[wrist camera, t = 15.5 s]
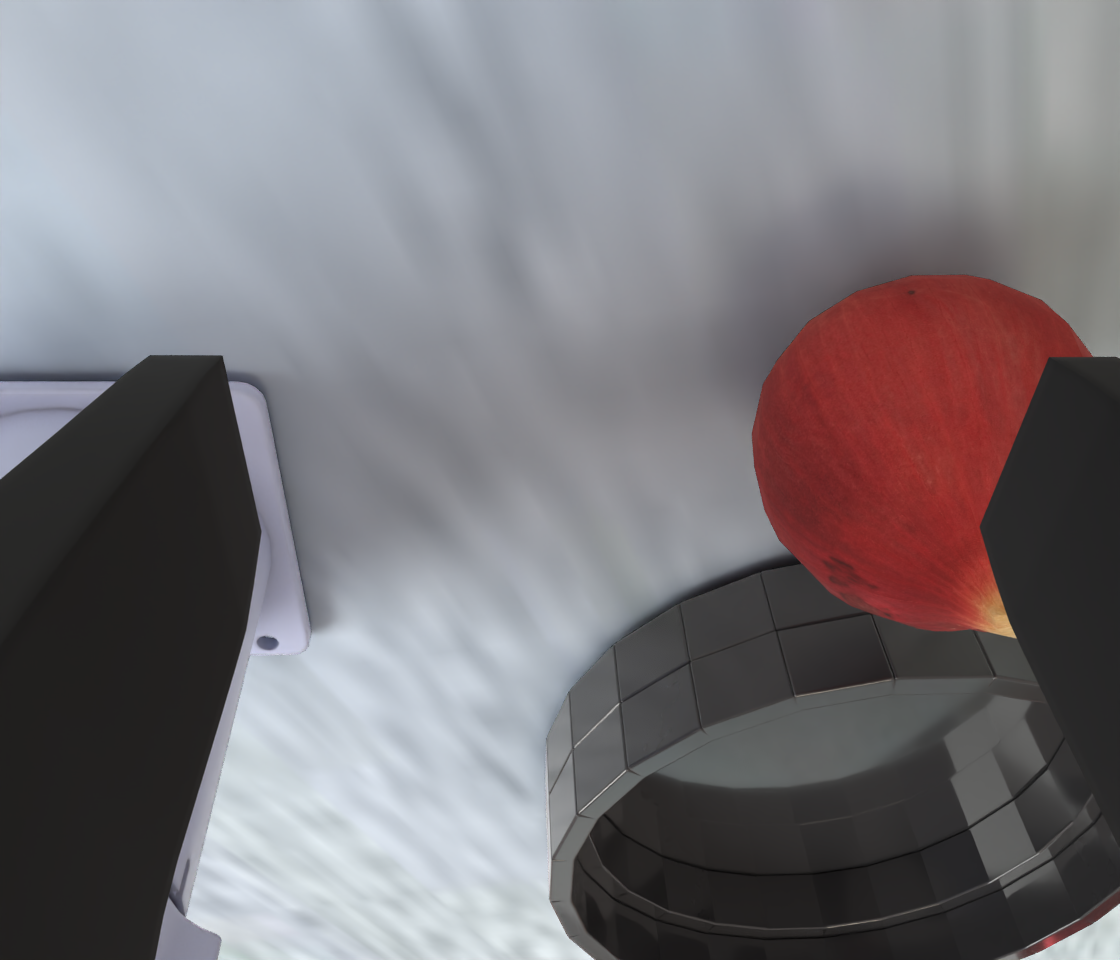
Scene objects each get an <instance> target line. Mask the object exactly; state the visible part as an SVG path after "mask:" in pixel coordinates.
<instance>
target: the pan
mask: <svg viewBox="0 0 1120 960" xmlns="http://www.w3.org/2000/svg"><path fill="white" fill-rule="evenodd" d="M545 798H546V826H547V854H548V882H549V900H550V902H551V904H552V906H553V908H554V910H555V912H556V914H557V916H558V918H559V920H560V922H561V924H562V926H563V928H564V930H565V932H566V934H567V936H568V937H569V938H570V939H571V940H572V941H573V942H574V943H576V944H577V945H578V946H579V947H580V948H582V949H583V950H584V951H585V952H586V953H588V954H589V955H590V956H591V957H592V958H594V959H595V960H1020V959H1022V958H1025V957H1028V956H1030V955H1033V954H1035V953H1038V952H1040V951H1042V950H1044V949H1046V948H1048V947H1050V946H1051V945H1053V944H1055V943H1057V942H1059V941H1061V940H1063V939H1065V938H1067V937H1068V936H1070V935H1072V934H1074V933H1076V932H1078V931H1080V930H1082V929H1084V928H1086V927H1087V926H1089V925H1091V924H1093V923H1094V922H1096V921H1098V920H1099V919H1100V918H1101V917H1103V916H1104V915H1105V914H1107V913H1108V912H1109V911H1111V910H1112V909H1113V908H1115V907H1116V906H1117V905H1118V904H1120V850H1119V847H1118V845H1117V843H1116V840H1115V838H1114V836H1113V834H1112V832H1111V830H1110V828H1109V826H1108V824H1107V822H1106V820H1105V818H1104V816H1103V814H1102V812H1101V810H1100V808H1099V806H1098V804H1097V802H1096V800H1095V798H1094V796H1093V794H1092V792H1091V790H1090V788H1089V786H1088V784H1087V782H1086V780H1085V778H1084V776H1083V773H1082V771H1081V769H1080V767H1079V765H1078V763H1077V761H1076V759H1075V757H1074V755H1073V753H1072V751H1071V749H1070V747H1069V745H1068V743H1067V741H1066V739H1065V737H1064V735H1063V733H1062V731H1061V729H1060V727H1059V725H1058V723H1057V721H1056V719H1055V717H1054V715H1053V713H1052V711H1051V709H1050V707H1049V705H1048V703H1047V701H1046V699H1045V696H1044V694H1043V692H1042V690H1041V688H1040V686H1039V684H1038V682H1037V680H1036V678H1035V676H1034V674H1033V672H1032V669H1031V667H1030V665H1029V663H1028V661H1027V659H1026V657H1025V655H1024V653H1023V651H1022V649H1021V647H1020V644H1019V642H1018V640H1017V638H1012V637H1008V636H1003V635H999V634H994V633H990V632H981V631H976V630H971V629H968V630H959V631H931V630H924V629H918V628H915V627H911V626H908V625H905V624H902V623H899V622H896V621H893V620H890V619H887V618H883V617H880V616H877V615H874V614H871V613H869V612H866V611H863V610H860V609H858V608H855V607H852V606H850V605H849V604H847V603H846V602H844V601H842V600H841V599H839V598H837V597H836V596H834V595H833V594H831V593H830V592H829V591H828V590H827V589H826V588H825V587H824V586H823V585H822V584H821V583H820V582H819V581H818V580H817V579H816V578H815V577H814V576H813V574H812V573H811V572H810V571H809V570H808V569H807V568H806V567H805V566H804V565H803V564H797V565H792V566H786V567H781V568H776V569H771V570H766V571H762V572H761V574H760V573H756V574H753V575H751V576H748V577H745V578H743V579H740V580H738V581H735V582H732V583H730V584H727V585H725V586H722V587H719V588H717V589H714V590H712V591H709V592H706V593H704V594H701V595H699V596H696V597H693V598H691V599H688V600H686V601H683V602H681V603H680V604H677V605H675V606H674V607H672V608H670V609H669V610H667V611H666V612H664V613H662V614H661V615H659V616H658V617H656V618H654V619H653V620H651V621H650V622H648V623H647V624H645V625H643V626H642V627H640V628H639V629H637V630H635V631H634V632H632V633H631V634H629V635H628V636H626V637H624V638H623V639H621V640H620V641H618V642H616V643H615V645H612V647H611V648H610V649H609V650H608V651H607V652H606V653H605V654H604V655H603V656H602V657H601V658H600V659H599V660H598V661H597V662H596V663H595V664H594V665H593V666H592V667H591V668H590V669H589V670H588V671H587V672H586V673H585V675H584V676H583V677H582V678H581V679H580V680H579V681H578V682H577V683H576V684H575V685H574V686H573V687H572V688H571V689H570V691H569V692H568V694H567V696H566V698H565V700H564V703H563V705H562V707H561V709H560V711H559V713H558V715H557V717H556V719H555V721H554V723H553V725H552V727H551V730H550V732H549V734H548V736H547V738H546V763H545Z"/></svg>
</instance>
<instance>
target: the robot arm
mask: <svg viewBox="0 0 1120 960" xmlns="http://www.w3.org/2000/svg"><path fill="white" fill-rule="evenodd" d="M979 527H980V531H981V534H982V537H983V541H984V544H985V548H986V551H987V555H988V558H989V561H990V565H991V568H992V572H993V575H994V579H995V582H996V584H997V587H998V590H999V593H1000V596H1001V599H1002V602H1003V605H1004V608H1005V611H1006V614H1007V617H1008V620H1009V623H1010V625H1011V627H1012V629H1013V631H1014V633H1015V636H1016V638H1017V640H1018V642H1019V644H1020V647H1021V649H1022V651H1023V653H1024V655H1025V657H1026V659H1027V661H1028V663H1029V665H1030V667H1031V669H1032V672H1033V674H1034V676H1035V678H1036V680H1037V682H1038V684H1039V686H1040V688H1041V690H1042V692H1043V694H1044V696H1045V699H1046V701H1047V703H1048V705H1049V707H1050V709H1051V711H1052V713H1053V715H1054V717H1055V719H1056V721H1057V723H1058V725H1059V727H1060V729H1061V731H1062V733H1063V735H1064V737H1065V739H1066V741H1067V743H1068V745H1069V747H1070V749H1071V751H1072V753H1073V755H1074V757H1075V759H1076V761H1077V763H1078V765H1079V767H1080V769H1081V771H1082V773H1083V776H1084V778H1085V780H1086V782H1087V784H1088V786H1089V788H1090V790H1091V792H1092V794H1093V796H1094V798H1095V800H1096V802H1097V804H1098V806H1099V808H1100V810H1101V812H1102V814H1103V816H1104V818H1105V820H1106V822H1107V824H1108V826H1109V828H1110V830H1111V832H1112V834H1113V836H1114V838H1115V840H1116V843H1117V845H1118V847H1119V850H1120V359H1119V358H1117V357H1049V358H1048V360H1047V363H1046V365H1045V368H1044V370H1043V373H1042V375H1041V377H1040V380H1039V382H1038V385H1037V387H1036V390H1035V392H1034V395H1033V397H1032V399H1031V402H1030V404H1029V407H1028V409H1027V412H1026V414H1025V417H1024V419H1023V421H1022V424H1021V426H1020V429H1019V431H1018V434H1017V436H1016V438H1015V441H1014V443H1013V446H1012V448H1011V451H1010V453H1009V456H1008V458H1007V460H1006V463H1005V465H1004V468H1003V470H1002V473H1001V475H1000V478H999V480H998V482H997V485H996V487H995V490H994V492H993V495H992V497H991V500H990V502H989V504H988V507H987V509H986V512H985V514H984V517H983V519H982V521H981V524H980V526H979ZM266 636H270V637H273V638H270V637H266ZM310 638H311V628H310V622H309V617H308V612H307V607H306V602H305V597H304V592H303V587H302V582H301V576H300V571H299V566H298V561H297V556H296V551H295V546H294V541H293V536H292V530H291V525H290V520H289V515H288V510H287V505H286V500H285V495H284V490H283V485H282V479H281V474H280V469H279V464H278V459H277V454H276V449H275V444H274V439H273V433H272V428H271V423H270V418H269V413H268V408H267V403H266V400H265V398H264V396H263V394H262V393H261V392H260V391H259V390H258V389H257V388H256V387H254V386H252V385H250V384H248V383H243V382H237V381H228V378H227V374H226V369H225V365H224V360H223V356H203V355H150V356H148V357H147V358H146V359H144V360H143V361H142V362H140V363H139V364H138V365H136V366H135V367H134V368H132V369H131V370H130V371H129V372H127V373H126V374H125V375H124V376H122V377H121V378H120V379H119V380H118V381H0V960H218V955H219V950H220V946H221V941H222V940H221V938H220V936H219V935H217V934H215V933H213V932H210V931H208V930H206V929H203V928H201V927H199V926H198V925H196V924H194V923H193V922H191V921H189V920H188V919H187V918H186V915H187V911H188V907H189V902H190V898H191V894H192V890H193V886H194V882H195V878H196V874H197V870H198V866H199V862H200V857H201V853H202V849H203V845H204V841H205V837H206V833H207V829H208V825H209V821H210V817H211V812H212V808H213V804H214V800H215V796H216V792H217V788H218V784H219V780H220V776H221V771H222V767H223V763H224V759H225V755H226V751H227V747H228V743H229V739H230V735H231V731H232V726H233V722H234V718H235V714H236V710H237V706H238V702H239V698H240V694H241V690H242V685H243V681H244V677H245V673H246V669H247V665H248V661H249V657H250V655H293V654H299V653H301V652H303V651H305V650H306V649H307V648H308V647H309V643H310Z"/></svg>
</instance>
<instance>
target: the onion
mask: <svg viewBox="0 0 1120 960" xmlns="http://www.w3.org/2000/svg"><path fill="white" fill-rule="evenodd" d="M1049 357H1093V356H1092V355H1091V353H1090V352H1089V351H1088V349H1087V348H1086V347H1085V345H1084V344H1083V343H1082V341H1081V340H1080V339H1079V337H1078V336H1077V335H1076V333H1075V332H1074V331H1073V329H1072V328H1071V327H1070V325H1069V324H1068V323H1067V322H1066V321H1065V320H1063V319H1062V318H1061V317H1060V316H1059V315H1058V314H1057V313H1055V312H1054V311H1053V310H1052V309H1051V308H1050V307H1049V306H1048V305H1046V304H1045V303H1044V302H1043V301H1042V300H1040V299H1037V298H1035V297H1032V296H1030V295H1027V294H1025V293H1022V292H1020V291H1017V290H1015V289H1012V288H1010V287H1007V286H1005V285H1002V284H1000V283H998V282H995V281H993V280H989V279H984V278H979V277H974V276H969V275H911V276H908V277H905V278H901V279H898V280H894V281H891V282H887V283H884V284H880V285H877V286H874V287H870V288H867V289H863V290H860V291H856V292H855V293H853V294H852V295H850V296H848V297H847V298H845V299H844V300H842V301H840V302H839V303H837V304H836V305H834V306H832V307H831V308H829V309H827V310H826V311H824V312H823V313H821V314H819V315H818V316H816V317H815V318H813V319H811V320H810V321H809V322H808V323H807V324H806V325H805V326H804V328H803V329H802V330H801V331H800V333H799V334H798V335H797V336H796V338H795V339H794V340H793V341H792V343H791V344H790V345H789V346H788V348H787V349H786V350H785V351H784V352H783V354H782V355H781V356H780V357H779V359H778V360H777V361H776V363H775V365H774V366H773V368H772V370H771V372H770V373H769V375H768V377H767V378H766V380H765V382H764V383H763V386H762V391H761V395H760V399H759V404H758V408H757V413H756V417H755V421H754V426H753V430H752V443H753V455H754V467H755V471H756V476H757V480H758V484H759V488H760V493H761V497H762V501H763V506H764V510H765V512H766V514H767V516H768V518H769V521H770V523H771V525H772V527H773V529H774V531H775V533H776V535H777V537H778V539H779V541H780V542H781V543H782V544H783V545H784V546H785V547H786V548H787V549H788V550H789V551H790V552H791V553H792V554H793V555H794V556H795V557H796V558H797V559H798V560H799V561H800V562H801V563H802V564H803V565H804V566H805V567H806V568H807V569H808V570H809V571H810V572H811V573H812V574H813V576H814V577H815V578H816V579H817V580H818V581H819V582H820V583H821V584H822V585H823V586H824V587H825V588H826V589H827V590H828V591H829V592H830V593H831V594H833V595H834V596H836V597H837V598H839V599H841V600H842V601H844V602H846V603H847V604H849V605H850V606H852V607H855V608H858V609H860V610H863V611H866V612H869V613H871V614H874V615H877V616H880V617H883V618H887V619H890V620H893V621H896V622H899V623H902V624H905V625H908V626H911V627H915V628H918V629H924V630H931V631H959V630H968V629H971V630H976V631H981V632H990V633H994V634H999V635H1003V636H1008V637H1012V638H1016V636H1015V633H1014V631H1013V629H1012V627H1011V625H1010V623H1009V620H1008V617H1007V614H1006V611H1005V608H1004V605H1003V602H1002V599H1001V596H1000V593H999V590H998V587H997V584H996V582H995V579H994V575H993V572H992V568H991V565H990V561H989V558H988V555H987V551H986V548H985V544H984V541H983V537H982V534H981V531H980V527H979V526H980V524H981V521H982V519H983V517H984V514H985V512H986V509H987V507H988V504H989V502H990V500H991V497H992V495H993V492H994V490H995V487H996V485H997V482H998V480H999V478H1000V475H1001V473H1002V470H1003V468H1004V465H1005V463H1006V460H1007V458H1008V456H1009V453H1010V451H1011V448H1012V446H1013V443H1014V441H1015V438H1016V436H1017V434H1018V431H1019V429H1020V426H1021V424H1022V421H1023V419H1024V417H1025V414H1026V412H1027V409H1028V407H1029V404H1030V402H1031V399H1032V397H1033V395H1034V392H1035V390H1036V387H1037V385H1038V382H1039V380H1040V377H1041V375H1042V373H1043V370H1044V368H1045V365H1046V363H1047V360H1048V358H1049Z"/></svg>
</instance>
